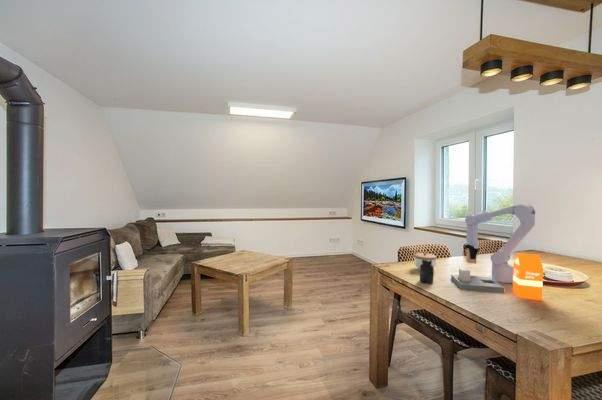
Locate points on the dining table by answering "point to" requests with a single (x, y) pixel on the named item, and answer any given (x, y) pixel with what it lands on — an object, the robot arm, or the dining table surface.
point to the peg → (469, 257)
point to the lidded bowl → (420, 256)
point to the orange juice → (528, 276)
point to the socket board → (475, 282)
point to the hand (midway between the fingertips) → (471, 258)
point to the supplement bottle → (426, 271)
